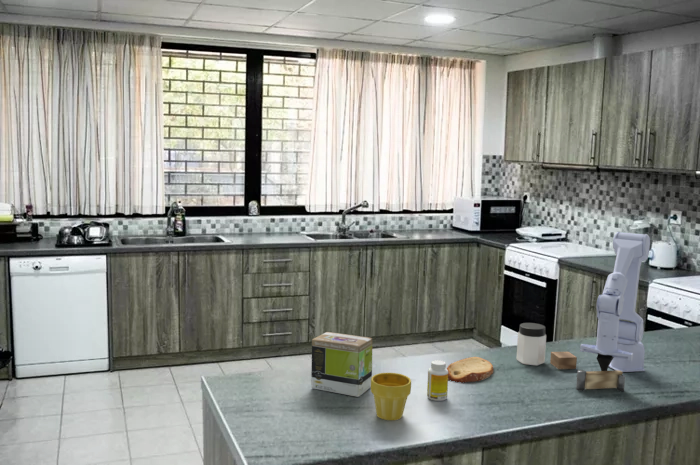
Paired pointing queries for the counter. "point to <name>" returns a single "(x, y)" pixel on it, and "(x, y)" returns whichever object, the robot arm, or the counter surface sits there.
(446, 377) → the supplement bottle
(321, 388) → the tea box
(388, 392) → the plant pot
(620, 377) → the post
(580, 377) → the hinge post
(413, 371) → the counter surface
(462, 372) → the bread slice
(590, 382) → the gate
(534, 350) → the jar
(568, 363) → the block
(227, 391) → the counter surface
